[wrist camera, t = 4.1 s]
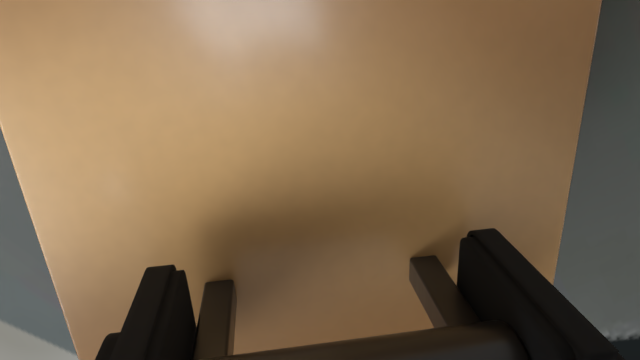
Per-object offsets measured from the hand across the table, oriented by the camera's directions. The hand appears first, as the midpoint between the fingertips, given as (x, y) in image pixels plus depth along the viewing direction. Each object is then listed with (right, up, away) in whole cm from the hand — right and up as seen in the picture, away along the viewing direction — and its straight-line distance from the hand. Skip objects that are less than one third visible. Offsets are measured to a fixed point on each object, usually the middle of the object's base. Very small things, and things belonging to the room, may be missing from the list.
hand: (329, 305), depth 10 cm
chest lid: (-1, +7, -1) cm, 7 cm away
